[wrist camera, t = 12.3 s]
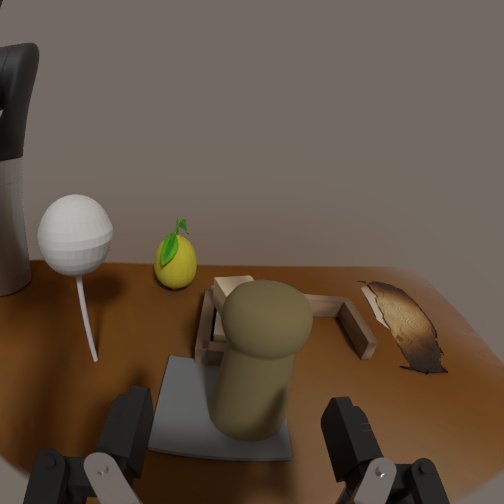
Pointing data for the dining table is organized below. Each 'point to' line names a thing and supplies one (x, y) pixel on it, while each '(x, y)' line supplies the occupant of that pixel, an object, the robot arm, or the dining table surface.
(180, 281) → the lemon
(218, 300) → the offcut upper
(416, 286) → the dining table surface
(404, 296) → the parchment
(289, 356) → the cork
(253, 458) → the pad
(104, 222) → the lollipop
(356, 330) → the frame
